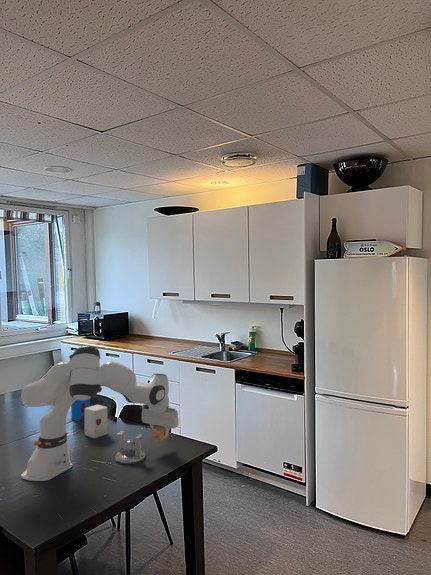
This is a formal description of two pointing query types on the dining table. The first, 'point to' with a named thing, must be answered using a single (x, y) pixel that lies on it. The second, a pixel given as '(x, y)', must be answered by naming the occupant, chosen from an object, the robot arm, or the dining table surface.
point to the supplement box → (96, 421)
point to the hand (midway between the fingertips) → (160, 434)
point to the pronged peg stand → (129, 450)
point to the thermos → (79, 409)
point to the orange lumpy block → (158, 433)
